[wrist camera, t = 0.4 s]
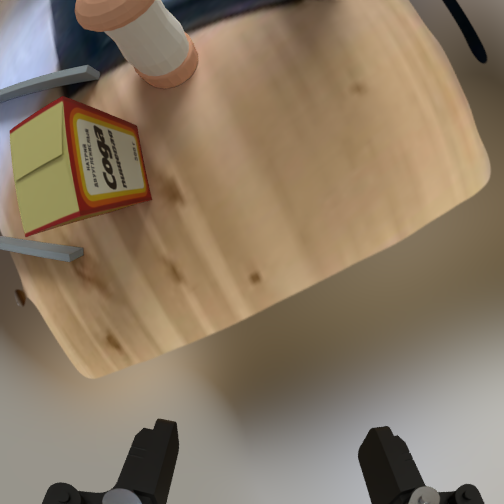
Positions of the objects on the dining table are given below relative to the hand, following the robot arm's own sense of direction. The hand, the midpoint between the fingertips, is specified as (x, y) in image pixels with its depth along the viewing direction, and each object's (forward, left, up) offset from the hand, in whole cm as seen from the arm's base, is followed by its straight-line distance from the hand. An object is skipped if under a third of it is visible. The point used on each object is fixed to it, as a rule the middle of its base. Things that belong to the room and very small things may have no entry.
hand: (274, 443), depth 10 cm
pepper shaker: (-24, -14, -26) cm, 38 cm away
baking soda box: (-10, -18, -26) cm, 33 cm away
